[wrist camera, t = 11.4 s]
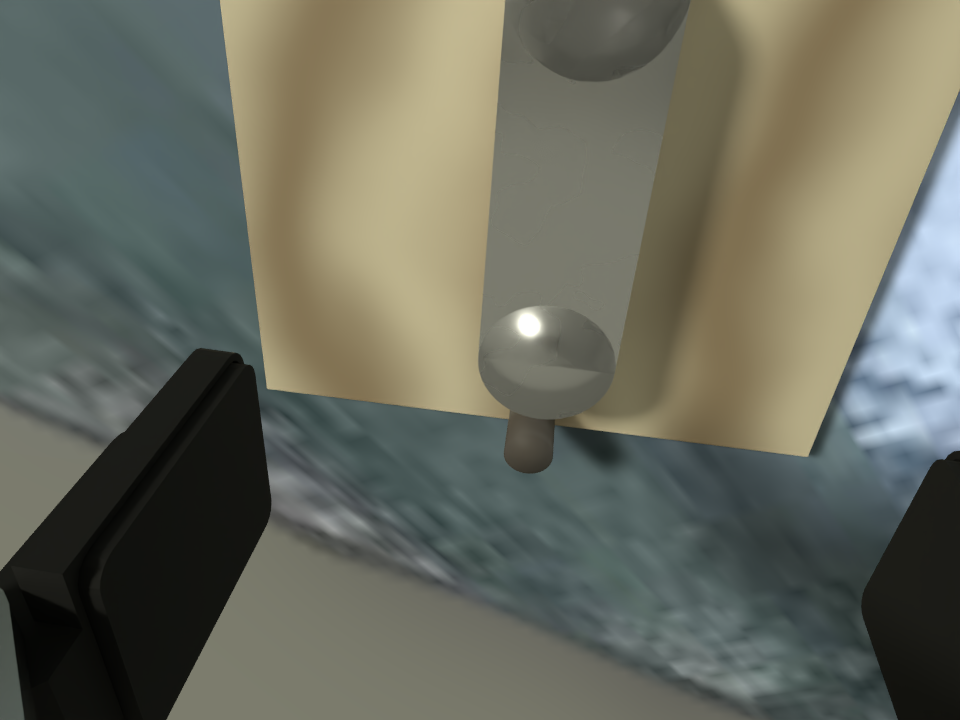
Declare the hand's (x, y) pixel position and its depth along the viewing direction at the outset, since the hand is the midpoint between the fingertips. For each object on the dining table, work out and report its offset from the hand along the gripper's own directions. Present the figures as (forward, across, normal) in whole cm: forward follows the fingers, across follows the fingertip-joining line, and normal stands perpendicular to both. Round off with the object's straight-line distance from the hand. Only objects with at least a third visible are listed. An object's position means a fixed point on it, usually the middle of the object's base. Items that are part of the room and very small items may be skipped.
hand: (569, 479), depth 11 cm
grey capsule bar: (+14, 0, 0) cm, 14 cm away
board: (+15, +1, 0) cm, 15 cm away
